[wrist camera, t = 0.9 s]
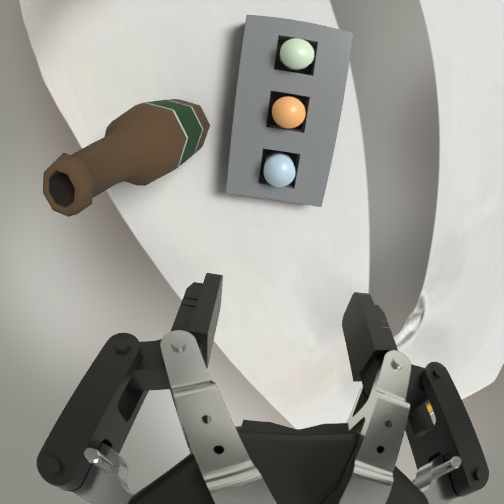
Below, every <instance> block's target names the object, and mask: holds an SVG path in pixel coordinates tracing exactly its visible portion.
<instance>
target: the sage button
mask: <svg viewBox="0 0 504 504" xmlns="http://www.w3.org/2000/svg"><path fill="white" fill-rule="evenodd" d="M279 57H280V61H281V63H282V64H283V65H284V66H285V67H286V68H288V69H290V70H294V71H298V70H302V69H304V68H306V67H307V66H308V65H309V64H311V62H312V61H313V59H314V50H313V48H312V46H311V45H310V44H309V43H308V42H307V41H305V40H303V39H298V38H294V39H290V40H287V41H286V42H285V43H284V44H283V45H282V47H281V50H280V55H279Z"/></svg>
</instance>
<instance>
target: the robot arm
mask: <svg viewBox="0 0 504 504" xmlns="http://www.w3.org/2000/svg"><path fill="white" fill-rule="evenodd" d="M222 281H223V275H218V274H211V273H207V274H206V276H205V279H204V282H203V284H202V283H196V282H194V283H193V284H191V285H190V286H189V287H188V288H187V289H186V292H185V295H184V298H183V300H182V302H181V306H180V308H179V311H178V313H177V316H176V319H175V321H174V324H173V327H172V329H171V331H170V332H169V333H167V334H166V335H164V337H163V338H162V339H160V340H157V341H148V342H139V341H138V339H137V338H136V337H135V336H133V335H131V334H128V333H118V334H116V335H113V336H112V337H111V338H109V340H108V341H107V342H106V344H105V345H104V347H103V348H102V350H101V351H100V353H99V354H98V356H97V357H96V359H95V360H94V362H93V363H92V365H91V366H90V368H89V370H88V371H87V372H86V374H85V376H84V377H83V379H82V380H81V382H80V384H79V385H78V387H77V388H76V390H75V392H74V393H73V395H72V397H71V398H70V400H69V401H68V403H67V405H66V406H65V408H64V410H63V411H62V414H61V415H60V417H59V418H58V420H57V422H56V424H55V425H54V427H53V429H52V431H51V432H50V434H49V436H48V438H47V440H46V442H45V443H44V445H43V447H42V449H41V451H40V453H39V455H38V457H37V468H38V471H39V473H40V475H41V476H42V477H43V479H44V480H46V481H47V482H48V483H50V484H52V485H54V486H57V487H58V488H60V489H62V490H64V491H66V492H69V493H71V494H74V495H77V496H80V497H81V498H83V499H85V500H86V501H88V502H90V503H92V504H448V503H449V502H451V501H454V500H457V499H459V498H461V497H464V496H466V495H468V494H471V493H473V492H475V491H477V490H479V489H481V488H483V487H484V486H485V484H486V483H487V481H488V477H489V470H488V466H487V463H486V460H485V457H484V454H483V451H482V449H481V446H480V443H479V441H478V438H477V435H476V433H475V430H474V428H473V426H472V423H471V420H470V418H469V416H468V413H467V411H466V409H465V407H464V404H463V402H462V400H461V398H460V395H459V393H458V391H457V389H456V387H455V385H454V383H453V381H452V379H451V377H450V375H449V373H448V371H447V369H446V368H445V367H444V366H443V365H442V364H440V363H438V362H431V363H429V364H428V365H427V366H426V367H425V368H422V367H419V366H415V365H412V364H411V362H410V360H409V358H408V357H407V356H406V355H405V354H404V353H402V352H400V351H398V349H397V346H396V344H395V341H394V338H393V335H392V332H391V330H390V329H389V325H388V322H387V319H386V317H385V314H384V312H383V311H382V310H381V309H380V307H379V306H378V305H374V303H373V300H372V298H371V295H370V294H367V293H357V292H355V293H354V294H353V295H352V297H351V300H350V302H349V304H348V307H347V309H346V311H345V313H344V316H343V320H342V327H343V332H344V337H345V341H346V346H347V351H348V355H349V360H350V365H351V371H352V376H353V381H362V384H363V386H362V387H361V388H360V390H359V393H358V395H357V398H356V401H355V403H354V406H353V409H352V411H351V414H350V416H349V419H348V421H347V422H346V423H339V424H322V425H318V426H314V427H309V428H305V429H300V430H297V429H293V428H289V427H285V426H282V425H278V424H275V423H271V422H260V421H250V420H243V423H242V426H238V427H235V426H234V423H233V422H232V419H231V417H230V415H229V412H228V410H227V408H226V405H225V403H224V401H223V398H222V396H221V394H220V391H219V389H218V387H217V385H216V383H215V382H212V380H211V378H210V376H209V373H208V371H207V368H208V364H209V359H210V354H211V349H212V344H213V340H214V335H215V331H216V326H217V321H218V317H219V312H220V306H221V295H222ZM162 389H170V391H171V395H172V398H173V401H174V405H175V408H176V411H177V414H178V417H179V421H180V424H181V427H182V431H183V434H184V436H185V439H186V442H187V445H188V448H189V450H190V453H191V454H189V455H188V456H187V457H186V458H184V459H183V460H182V461H180V462H179V463H178V464H177V465H175V466H174V467H173V468H171V469H170V470H169V471H167V472H166V473H164V474H163V475H162V476H160V477H159V478H157V479H156V480H155V481H153V482H152V483H150V484H149V485H147V486H146V487H145V488H143V489H142V490H140V491H139V492H137V493H136V494H133V493H132V492H131V490H130V489H129V488H128V485H127V475H128V467H127V464H126V462H125V461H124V459H123V458H122V457H121V456H120V455H119V453H120V451H121V448H122V446H123V444H124V442H125V440H126V438H127V435H128V433H129V431H130V429H131V427H132V425H133V422H134V420H135V418H136V416H137V414H138V412H139V410H140V408H141V406H142V404H143V401H144V399H145V397H146V395H147V393H148V391H149V390H162ZM428 402H430V404H431V407H432V409H433V412H434V414H435V417H436V423H435V425H434V424H433V422H432V419H431V416H430V414H429V411H428V409H427V406H426V404H427V403H428ZM405 431H406V434H407V437H408V440H409V443H410V446H411V449H412V453H413V456H414V459H415V463H416V466H417V469H418V472H417V474H416V477H415V478H414V479H413V483H412V482H411V481H410V480H409V479H408V478H407V477H406V476H405V475H404V474H403V473H402V472H401V471H400V470H399V469H398V468H397V467H396V466H395V464H396V461H397V457H398V454H399V450H400V447H401V443H402V440H403V436H404V432H405Z"/></svg>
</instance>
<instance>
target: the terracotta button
mask: <svg viewBox="0 0 504 504" xmlns="http://www.w3.org/2000/svg"><path fill="white" fill-rule="evenodd" d="M272 116H273V119H274V120H275V122H276V123H277V124H278V125H280V126H282V127H284V128H294V127H297V126H299V125H300V124H301V123H302V122H303V120H304V118H305V108H304V105H303V104H302V103H301V102H300V101H299V100H298V99H296V98H294V97H281V98H279V99H278V100H276V101H275V103H274V104H273V107H272Z"/></svg>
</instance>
